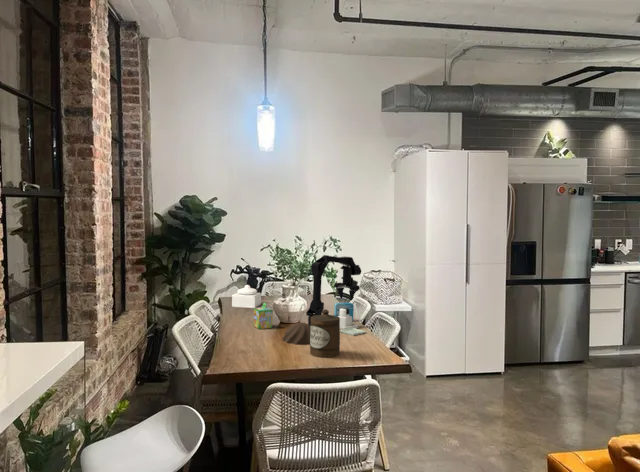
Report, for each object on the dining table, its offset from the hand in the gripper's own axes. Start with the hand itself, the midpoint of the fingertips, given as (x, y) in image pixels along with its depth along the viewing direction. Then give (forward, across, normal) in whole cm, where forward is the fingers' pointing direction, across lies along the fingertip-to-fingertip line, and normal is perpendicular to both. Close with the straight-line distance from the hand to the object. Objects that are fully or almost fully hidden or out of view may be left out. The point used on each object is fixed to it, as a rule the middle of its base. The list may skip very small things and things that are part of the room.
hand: (346, 299), depth 322 cm
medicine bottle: (+15, -13, +14) cm, 25 cm away
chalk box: (+15, +17, +54) cm, 59 cm away
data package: (+15, +1, +1) cm, 15 cm away
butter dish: (+15, +86, +22) cm, 90 cm away
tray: (+14, -26, +20) cm, 36 cm away
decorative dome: (+15, -21, +56) cm, 61 cm away
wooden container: (+15, -49, +63) cm, 81 cm away
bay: (+14, -13, +14) cm, 24 cm away
